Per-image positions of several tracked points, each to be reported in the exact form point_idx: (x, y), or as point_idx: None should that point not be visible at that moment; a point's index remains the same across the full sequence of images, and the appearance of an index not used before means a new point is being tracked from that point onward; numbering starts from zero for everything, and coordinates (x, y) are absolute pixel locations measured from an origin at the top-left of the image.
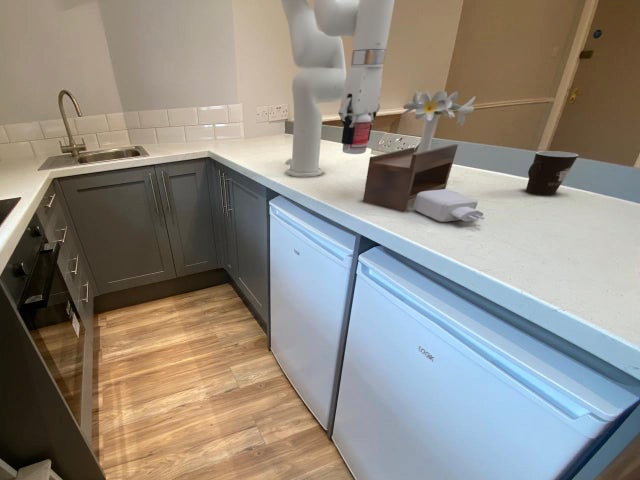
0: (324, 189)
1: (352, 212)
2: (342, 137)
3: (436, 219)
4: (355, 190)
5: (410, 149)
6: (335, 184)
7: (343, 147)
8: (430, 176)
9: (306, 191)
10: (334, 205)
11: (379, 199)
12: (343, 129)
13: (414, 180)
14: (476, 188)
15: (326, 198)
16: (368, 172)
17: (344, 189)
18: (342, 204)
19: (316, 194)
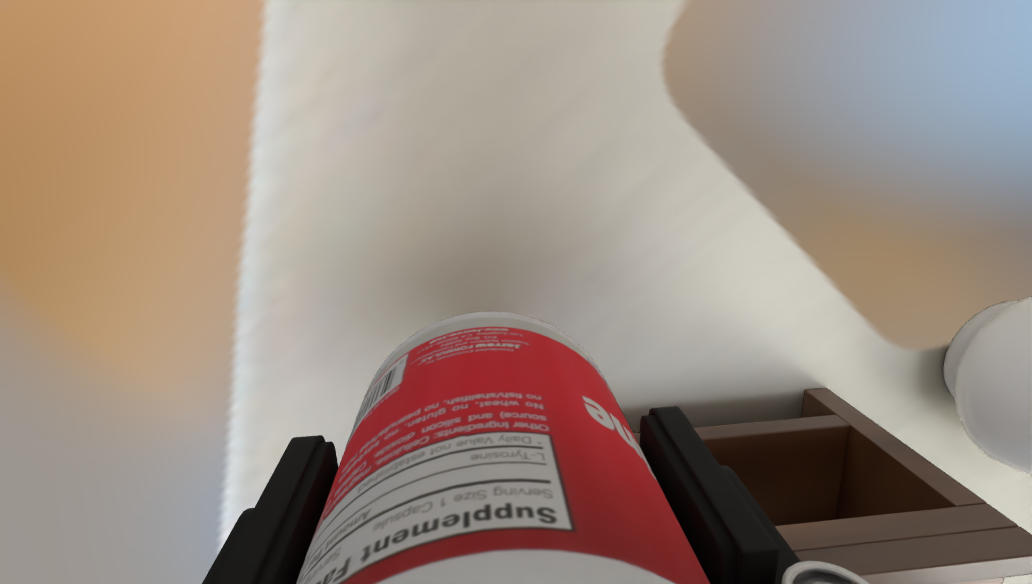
0: (465, 79)
1: (255, 503)
2: (274, 480)
3: None
4: (599, 244)
5: (980, 574)
6: (635, 32)
7: (368, 393)
8: None
9: (317, 21)
10: (257, 377)
11: None
12: (224, 572)
13: (797, 511)
14: (1012, 581)
15: (316, 251)
16: None
17: (569, 179)
18: (309, 391)
19: (325, 137)
